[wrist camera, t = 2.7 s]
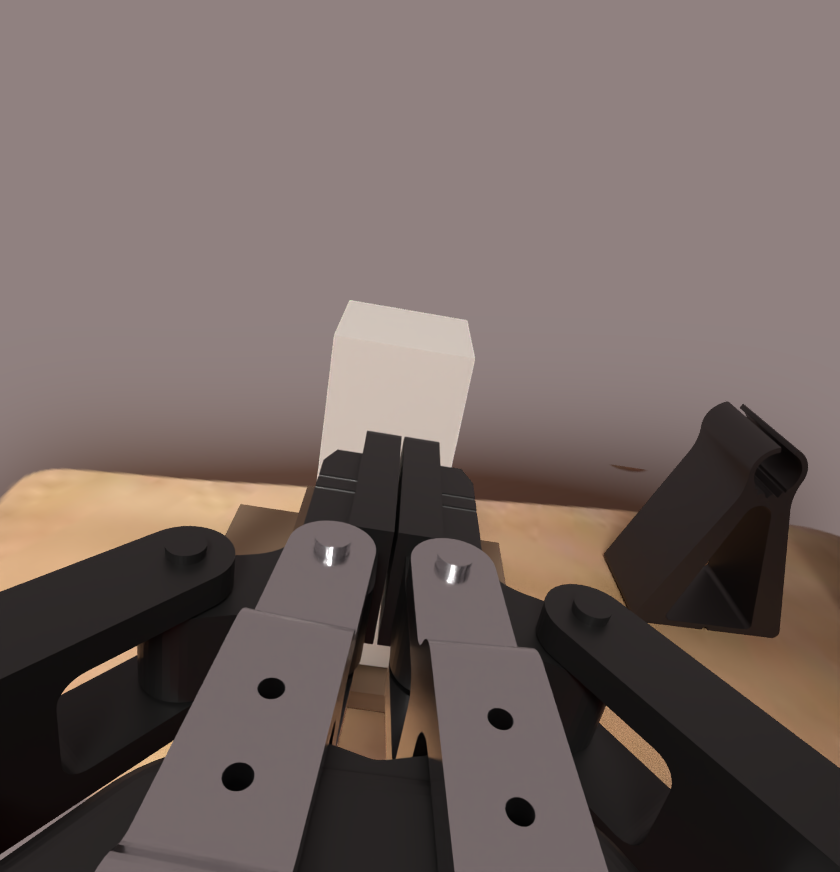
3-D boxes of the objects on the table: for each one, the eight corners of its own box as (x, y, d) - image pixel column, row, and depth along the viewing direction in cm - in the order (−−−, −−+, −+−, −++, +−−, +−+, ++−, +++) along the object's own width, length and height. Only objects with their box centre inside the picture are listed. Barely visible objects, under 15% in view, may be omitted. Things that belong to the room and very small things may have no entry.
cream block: (409, 597, 34) (467, 320, 27) (406, 670, 29) (475, 358, 23) (313, 583, 33) (349, 300, 27) (296, 655, 29) (334, 334, 22)
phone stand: (630, 620, 37) (704, 436, 32) (602, 557, 43) (662, 390, 38) (776, 639, 38) (872, 461, 33) (730, 574, 43) (807, 414, 38)
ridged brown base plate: (495, 555, 41) (505, 516, 39) (522, 730, 29) (538, 681, 28) (239, 518, 40) (242, 475, 38) (160, 682, 28) (160, 630, 27)
